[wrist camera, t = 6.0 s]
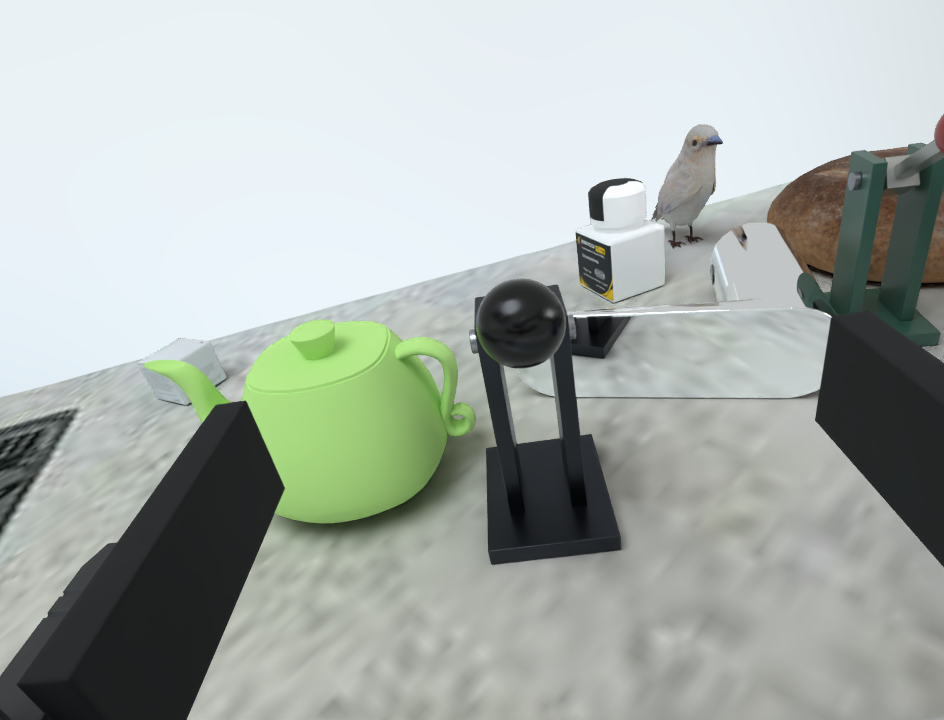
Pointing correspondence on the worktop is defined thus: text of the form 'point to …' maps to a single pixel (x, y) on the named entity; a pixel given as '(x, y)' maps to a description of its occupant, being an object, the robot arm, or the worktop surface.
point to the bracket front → (543, 472)
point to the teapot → (343, 415)
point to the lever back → (913, 164)
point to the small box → (184, 351)
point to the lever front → (520, 323)
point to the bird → (689, 181)
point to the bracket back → (903, 252)
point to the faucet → (710, 332)
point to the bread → (820, 213)
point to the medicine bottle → (620, 242)
